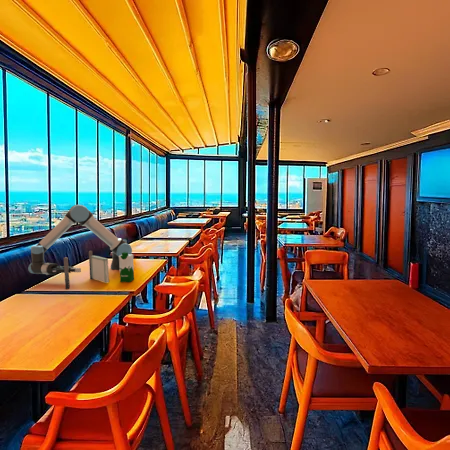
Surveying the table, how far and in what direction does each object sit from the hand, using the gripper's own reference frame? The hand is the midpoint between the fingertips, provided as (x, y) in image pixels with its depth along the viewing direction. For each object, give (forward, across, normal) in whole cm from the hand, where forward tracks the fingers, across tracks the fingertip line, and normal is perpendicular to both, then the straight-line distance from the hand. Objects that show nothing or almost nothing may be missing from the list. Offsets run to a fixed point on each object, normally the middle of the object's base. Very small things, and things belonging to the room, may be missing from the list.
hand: (80, 270), depth 227 cm
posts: (0, +1, -9) cm, 9 cm away
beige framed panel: (+11, -7, -8) cm, 15 cm away
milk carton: (+28, -12, -9) cm, 32 cm away
